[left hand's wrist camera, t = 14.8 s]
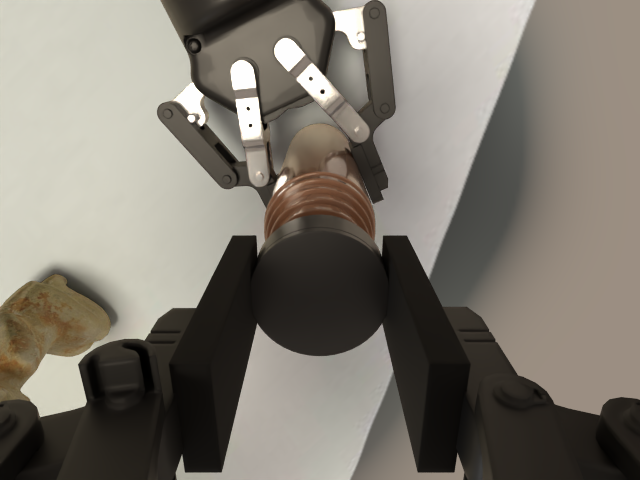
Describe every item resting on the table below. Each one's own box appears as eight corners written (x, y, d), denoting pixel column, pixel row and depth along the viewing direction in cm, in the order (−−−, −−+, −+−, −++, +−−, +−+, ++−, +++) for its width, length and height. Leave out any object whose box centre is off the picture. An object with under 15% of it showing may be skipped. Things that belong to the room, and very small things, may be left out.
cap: (396, 224, 14) (405, 242, 13) (370, 337, 16) (375, 364, 14) (263, 204, 14) (256, 220, 12) (249, 320, 15) (242, 346, 14)
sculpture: (80, 350, 39) (-51, 507, 25) (16, 291, 37) (-166, 428, 23) (127, 316, 38) (17, 463, 24) (63, 254, 36) (-99, 375, 22)
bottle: (303, 195, 34) (281, 370, 15) (277, 138, 33) (216, 249, 13) (360, 172, 34) (416, 324, 14) (337, 113, 32) (364, 191, 13)
